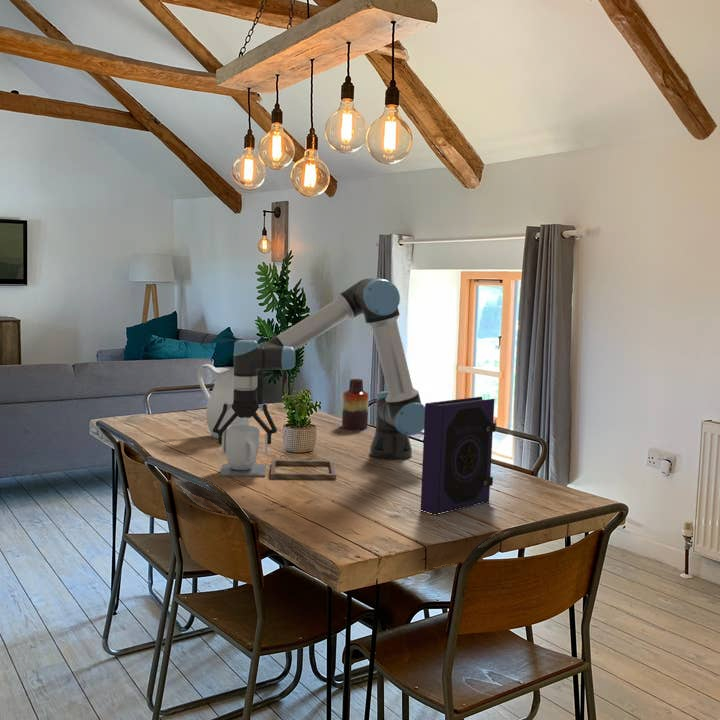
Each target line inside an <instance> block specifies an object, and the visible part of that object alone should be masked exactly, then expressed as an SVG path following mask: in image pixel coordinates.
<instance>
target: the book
mask: <svg viewBox="0 0 720 720" xmlns="http://www.w3.org/2000/svg"><path fill="white" fill-rule="evenodd" d="M424 406H425V420H424V429H423V449H422V466H421V467H422V471H421V489H420V491H421V493H420V494H421V495H420V511H421V510H423V511H426V512H429V513H432V514H438V513H442V512H446V511H451V510H455V509H459V508H462V509H464V508H463V507H466V508H468V507H467V506H470V507H472V506H471V505H474V504H478V503H481V504H483V503H482V502H485V503H488V502H487V501H489V502H490V495H491V494H490V493H491V492H490V491H491V486H493V484H494V483H493V482H494V477H493V476H491V472H492V456H493V455H492V453H493V434H494V433H495V432H496V429H497V423H494V419H495V417H494V416H495V415H494V414H495V398H489V399H488V398H487V399H483V396H475V397H474V396H473V397H468V398H467V397H466V398H465V397H464V398H459V399H458V398H457V399H451V400H449V399H448V400H441V401H433V402H426V403H424ZM478 505H479V504H478ZM474 506H475V505H474ZM459 510H460V509H459ZM423 511H422V512H423ZM455 511H456V510H455ZM451 512H452V511H451Z"/></svg>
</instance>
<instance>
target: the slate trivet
mask: <svg viewBox="0 0 720 720" xmlns="http://www.w3.org/2000/svg"><path fill="white" fill-rule="evenodd" d="M266 472H267V463H254V464H253V466H252V467H251V469H249V470H234V469H232V468H230V466H229V464H228V463H223V465H222V468H221V470H220V473H219V477H248V478H249V477H250V478H251V477H253V478H256V477H259V478H264V477H266Z"/></svg>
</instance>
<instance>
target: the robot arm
mask: <svg viewBox="0 0 720 720" xmlns="http://www.w3.org/2000/svg"><path fill="white" fill-rule="evenodd" d="M400 302H401V295H400V292H399V290H398V287H397V286H396V285H395V284H394V283H393V282H392V281H389V280H387V279H384V278H364V279H361V280H359V281H357V282H356V283H354V284H352V285H351V286H350V287H348V288H347V289H345V290H343V291H342V292H341V293H339V294H338V295H337V298H336V299H335V300H333V301H332V302H330V303H329V304H327V305H325V306H324V307H322V308H320V309H318V310H317V311H315V312H313V313H312V314H310V315H309V316H307V317H306V318H304V319H302V320H300V321H299V322H297V323H296V324H294V325H292V326H291V327H289V328H287V329H285V330H284V331H283V332H281V333H279V334H278V335H275V336H274V337H272V338H270V339H269V340H268V341H263V342H260V343H258V341H257V340H254V339H238V340H236V341H234V344H233V345H234V346H233V348H234V349H233V368H234V388H235V389H234V391H233V404H227V403H224V405H223V411H222V413H221V415H220V417H219V419H218V421H217V423H216V425H215V427H214V428H213V432H215V433H218V439H217V440H218V442H217V443H218V444H219V445H221V456H225V455H226V454H225V433H223V432H224V431H225V430H226V428H227V427H228V426H229V425H230V424H231V423H232V422H233V421H234V419H235V418H236V417H237V416H238V417H240V418H244V417H246V418H250V419H251V418H253V419H254V420H255V421H256V423H258V425H259V426H260V427H261V428H262V429H263V431H264V432H265V434H264V455H265V456H268V445H272V435H273V434H276V433H277V432H278V428H277V427H276V425H275V424H276V423H275V422H274V420H273V418H272V416H271V414H270V412H269V411H268V404H267V403H266V402H264V403H263V404H262V403H258V389H257V388H258V372H259V371H264V370H267V371H268V370H269V371H270V370H273V371H274V370H275V371H276V370H278V371H280V370H282V371H285V370H286V371H287V370H292V369H294V367H295V366H296V351H297V350H298V349H301V347H303V346H304V345H307V344H308V343H310V342H311V341H312V340H315V339H316V338H318V337H320V336H321V335H323V334H324V333H326V332H328V331H329V330H331V329H332V328H334V327H335V326H337V325H339V324H341V323H342V322H345V320H347V319H354V318H356V317H358V316H360V315H362V314H363V317H364V321H365V324H367V325H368V326H370V327H371V330H372V334H373V337H374V342H375V346H376V350H377V354H378V358H379V362H380V366H381V370H382V374H383V378H384V381H385V385H386V389H387V391H379V392H378V393H377V395H376V400H375V407H376V408H375V431H374V432H375V433H374V436H373V438H372V442H371V444H370V447H369V455H371V456H373V457H375V458H381V459H386V460H400V459H401V460H402V459H407V458H411V457H412V454H413V448H412V445H411V441H410V438H409V437H410V436H415V435H418V434H420V433H421V432H422V431H424V420H425V404H422V400H421V397H420V394H419V391H418V389H415V388H414V386H413V382H412V379H411V375H410V371H409V366H408V362H407V359H406V358H407V357H406V354H405V350H404V346H403V342H402V338H401V333H400V330H399V325H398V322H397V321H398V318H399V317H400V315H401V314H400V311H399V310H400V309H399V305H400ZM230 408H232V409H233V410H234V412H235V413H234V414H233V415H232V416H231V418H230V419H229V420H228V421H227V422H226V423H225V424H224V425H223V427H222V428H221V429H218V427H219V425H220V423H221V421H222V419H223V418H224V416H225V414H226V412H227V411H229V409H230ZM258 409H260V411H262V412H263V414H264V416H265V418H266V420H267V422H268V424H269V426H270V427H269V426H268V425H267V424H266V423H265V422H264V420H263V419H262V418H261V417H260V416H259V414H258V412H257V411H258Z"/></svg>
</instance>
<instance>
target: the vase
mask: <svg viewBox="0 0 720 720" xmlns="http://www.w3.org/2000/svg"><path fill="white" fill-rule="evenodd" d="M348 384H349V387H348V390H346V391H343V393H342V412H341V413H342V419H341V421H342V422H341V427H342V428H343V429H347V430H355V431H356V430H357V431H358V430H365V429H368V425H369V424H368V423H369V421H368V419H369V395H370V394H369V392H367V391H365V390H364V380H363V379H361V378H350V379H349V383H348Z"/></svg>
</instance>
